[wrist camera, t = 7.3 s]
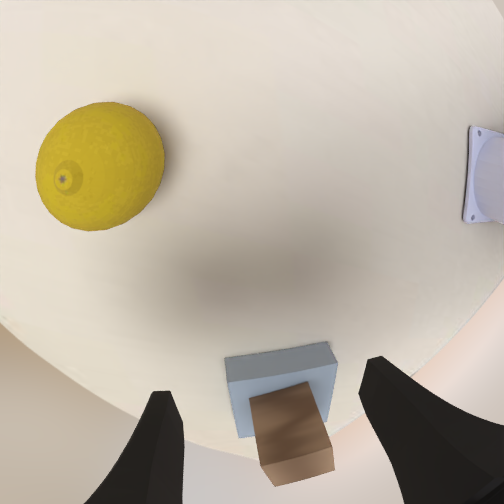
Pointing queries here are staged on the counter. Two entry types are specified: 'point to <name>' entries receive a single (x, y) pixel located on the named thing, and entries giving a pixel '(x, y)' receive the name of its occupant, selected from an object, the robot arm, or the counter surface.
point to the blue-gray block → (279, 378)
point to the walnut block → (291, 435)
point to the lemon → (99, 166)
